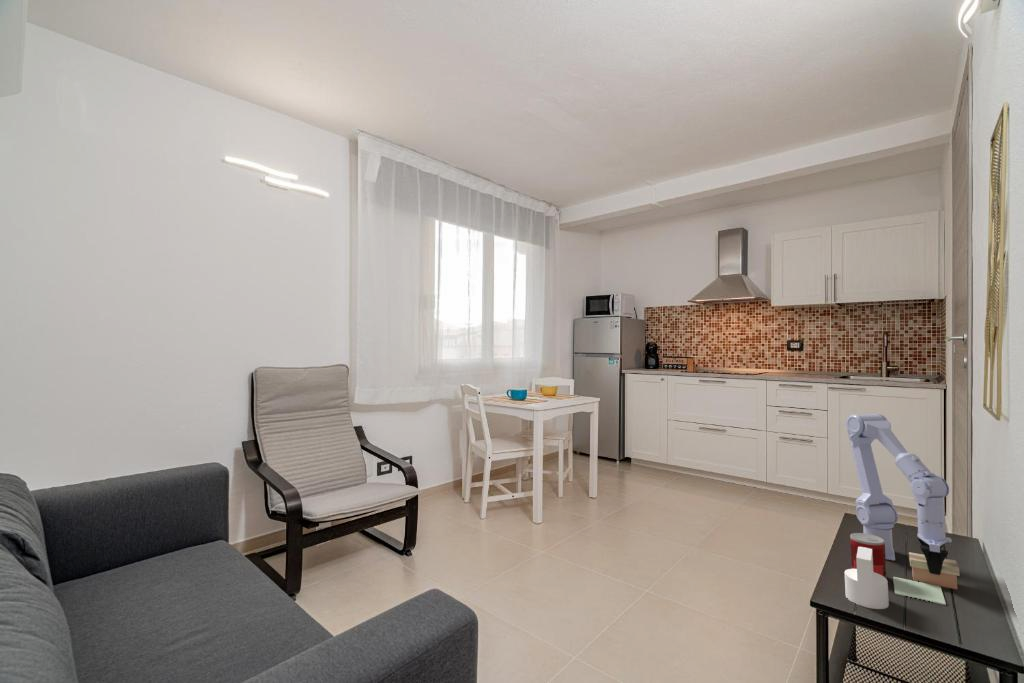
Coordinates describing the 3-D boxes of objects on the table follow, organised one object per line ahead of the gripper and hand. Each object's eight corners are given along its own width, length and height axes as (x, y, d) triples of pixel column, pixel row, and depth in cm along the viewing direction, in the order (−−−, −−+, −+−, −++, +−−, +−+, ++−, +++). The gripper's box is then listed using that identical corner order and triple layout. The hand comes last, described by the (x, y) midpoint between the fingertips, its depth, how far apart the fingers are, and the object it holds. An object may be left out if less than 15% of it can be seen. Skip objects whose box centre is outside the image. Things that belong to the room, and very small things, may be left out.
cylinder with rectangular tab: (846, 587, 128) (844, 543, 129) (888, 597, 122) (886, 551, 123) (844, 601, 121) (841, 554, 122) (888, 613, 116) (886, 563, 116)
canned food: (892, 583, 130) (890, 543, 130) (860, 581, 131) (858, 542, 132) (877, 571, 137) (875, 533, 138) (846, 569, 139) (844, 532, 139)
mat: (893, 577, 133) (893, 576, 133) (940, 587, 127) (940, 586, 127) (894, 594, 124) (894, 592, 124) (945, 605, 118) (945, 604, 118)
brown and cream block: (912, 574, 135) (911, 560, 135) (954, 583, 129) (954, 568, 129) (913, 580, 131) (912, 566, 131) (957, 589, 126) (956, 574, 126)
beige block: (909, 559, 136) (908, 552, 136) (956, 567, 130) (955, 560, 130) (910, 566, 131) (910, 559, 131) (959, 576, 125) (959, 568, 125)
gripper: (954, 531, 123) (957, 583, 122) (946, 515, 134) (949, 563, 134) (918, 525, 127) (921, 576, 126) (914, 510, 138) (916, 557, 138)
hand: (933, 569), depth 130 cm, fingers closed on beige block, 6 cm apart
